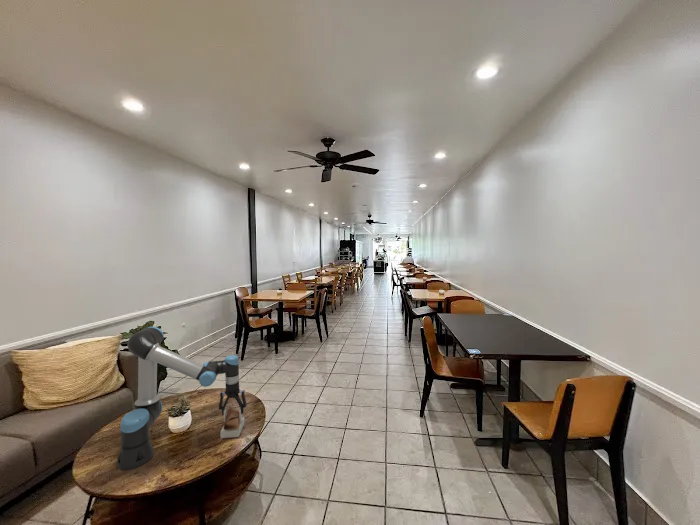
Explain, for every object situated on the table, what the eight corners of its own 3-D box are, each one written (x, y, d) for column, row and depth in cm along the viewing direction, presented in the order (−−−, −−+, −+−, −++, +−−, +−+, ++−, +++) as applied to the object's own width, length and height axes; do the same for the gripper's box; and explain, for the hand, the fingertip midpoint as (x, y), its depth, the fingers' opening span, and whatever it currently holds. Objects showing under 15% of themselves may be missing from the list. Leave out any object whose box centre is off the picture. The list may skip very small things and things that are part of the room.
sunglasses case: (239, 427, 163) (233, 418, 162) (228, 435, 162) (221, 426, 161) (242, 411, 180) (236, 403, 180) (232, 418, 179) (226, 410, 178)
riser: (238, 436, 165) (238, 429, 165) (220, 438, 163) (220, 431, 163) (244, 423, 179) (244, 416, 179) (227, 424, 177) (227, 417, 177)
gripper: (251, 378, 176) (252, 414, 176) (216, 380, 173) (216, 417, 173) (249, 383, 168) (249, 421, 169) (211, 386, 166) (212, 424, 166)
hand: (233, 419), depth 171 cm, fingers closed on sunglasses case, 8 cm apart
